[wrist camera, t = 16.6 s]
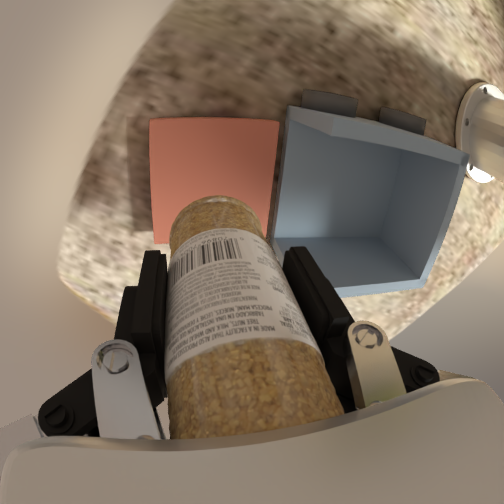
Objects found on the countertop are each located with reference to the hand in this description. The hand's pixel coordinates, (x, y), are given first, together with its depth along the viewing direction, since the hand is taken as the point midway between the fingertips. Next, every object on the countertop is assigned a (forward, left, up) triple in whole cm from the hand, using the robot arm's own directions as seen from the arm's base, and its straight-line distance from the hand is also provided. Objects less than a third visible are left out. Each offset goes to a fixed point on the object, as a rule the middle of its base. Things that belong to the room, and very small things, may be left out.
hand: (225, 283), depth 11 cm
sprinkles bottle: (0, 0, -4) cm, 4 cm away
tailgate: (-5, 0, -12) cm, 13 cm away
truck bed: (-12, 0, -13) cm, 18 cm away
